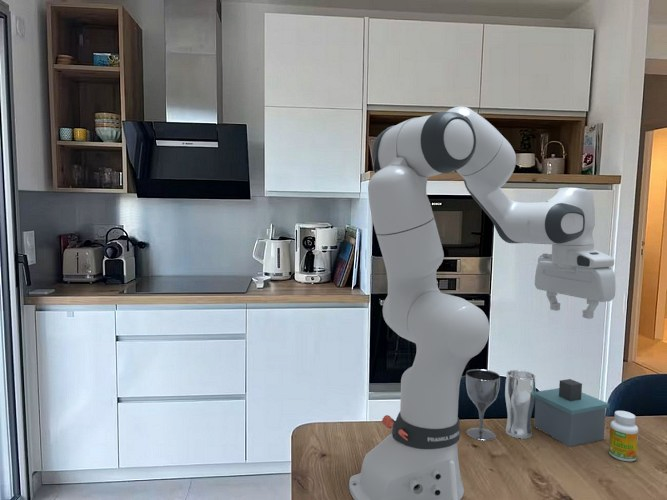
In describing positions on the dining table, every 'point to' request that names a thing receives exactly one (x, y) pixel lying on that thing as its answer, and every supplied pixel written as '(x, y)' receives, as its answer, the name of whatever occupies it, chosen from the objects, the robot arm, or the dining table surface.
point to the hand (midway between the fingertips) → (570, 313)
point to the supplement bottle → (623, 436)
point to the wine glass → (482, 398)
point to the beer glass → (519, 402)
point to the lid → (571, 398)
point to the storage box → (569, 424)
